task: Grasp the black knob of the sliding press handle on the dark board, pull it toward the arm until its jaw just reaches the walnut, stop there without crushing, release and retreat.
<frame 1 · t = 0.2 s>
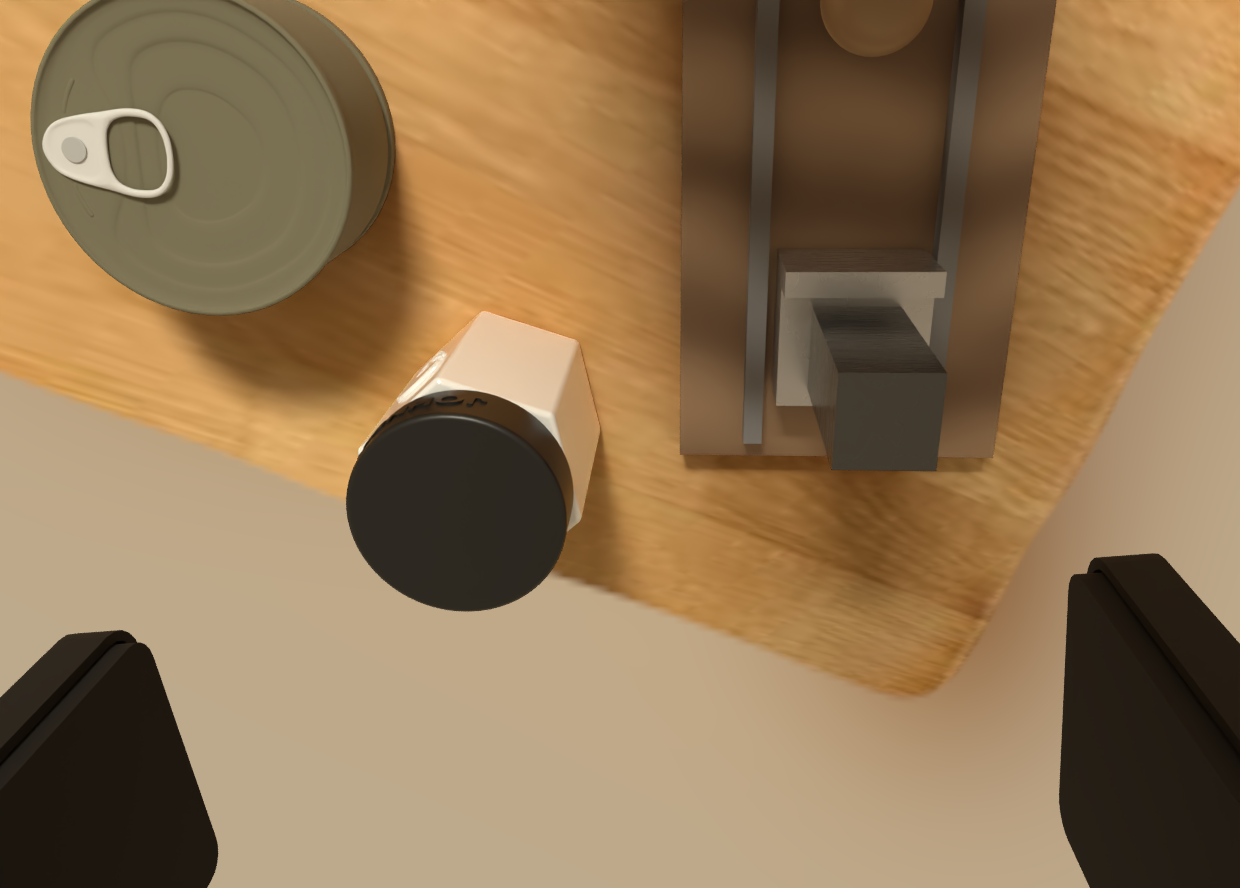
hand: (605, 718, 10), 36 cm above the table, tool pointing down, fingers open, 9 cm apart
board: (849, 180, 43), on the table
jar: (510, 398, 48), on the table
can: (264, 135, 44), on the table
handle: (864, 358, 39), point 7 cm above the table, slide at 0.0 cm
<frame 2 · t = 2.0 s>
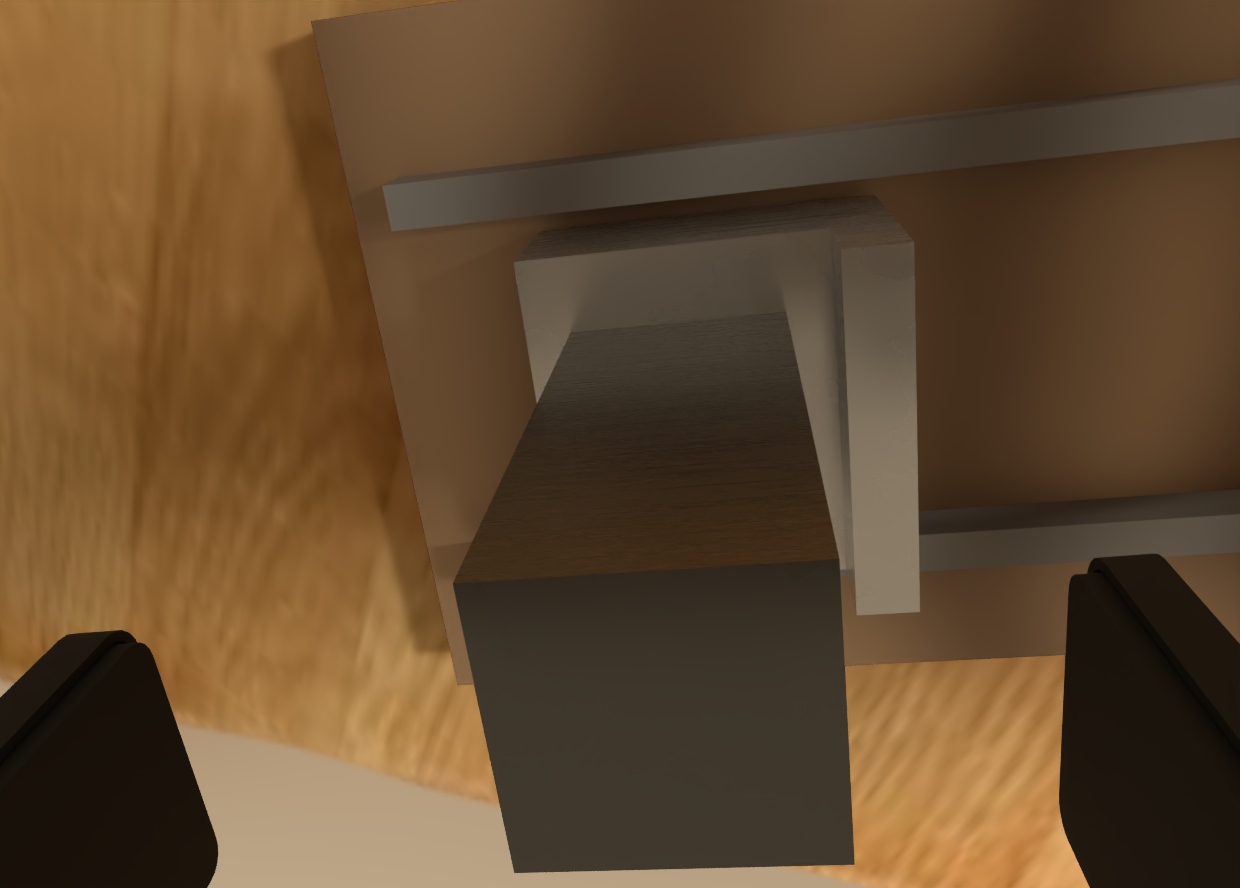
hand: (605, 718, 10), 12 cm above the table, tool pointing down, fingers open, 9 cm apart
board: (995, 318, 20), on the table
handle: (716, 491, 15), point 7 cm above the table, slide at 0.0 cm
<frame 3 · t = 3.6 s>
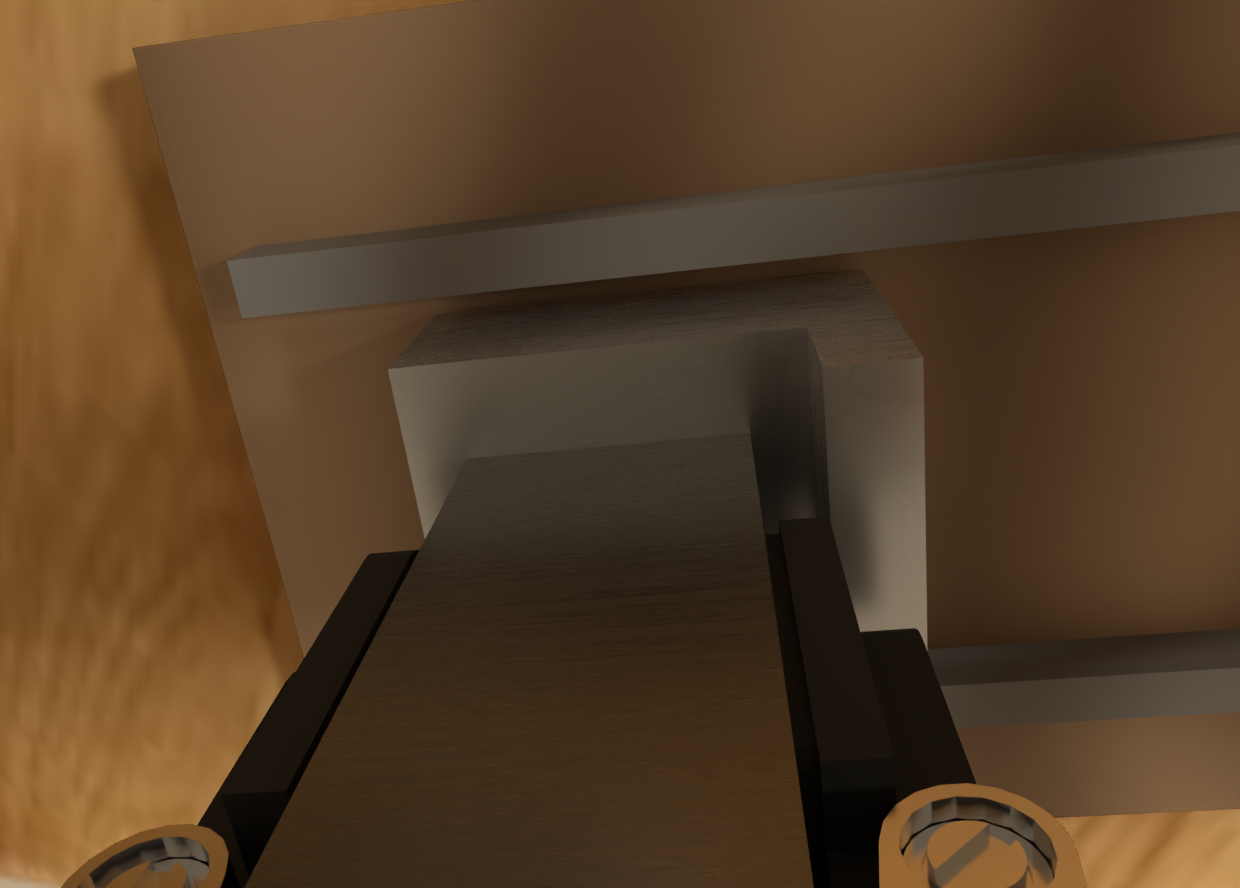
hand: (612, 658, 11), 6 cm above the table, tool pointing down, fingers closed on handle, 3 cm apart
board: (1009, 410, 16), on the table
handle: (655, 699, 11), point 7 cm above the table, slide at 0.0 cm, touching gripper
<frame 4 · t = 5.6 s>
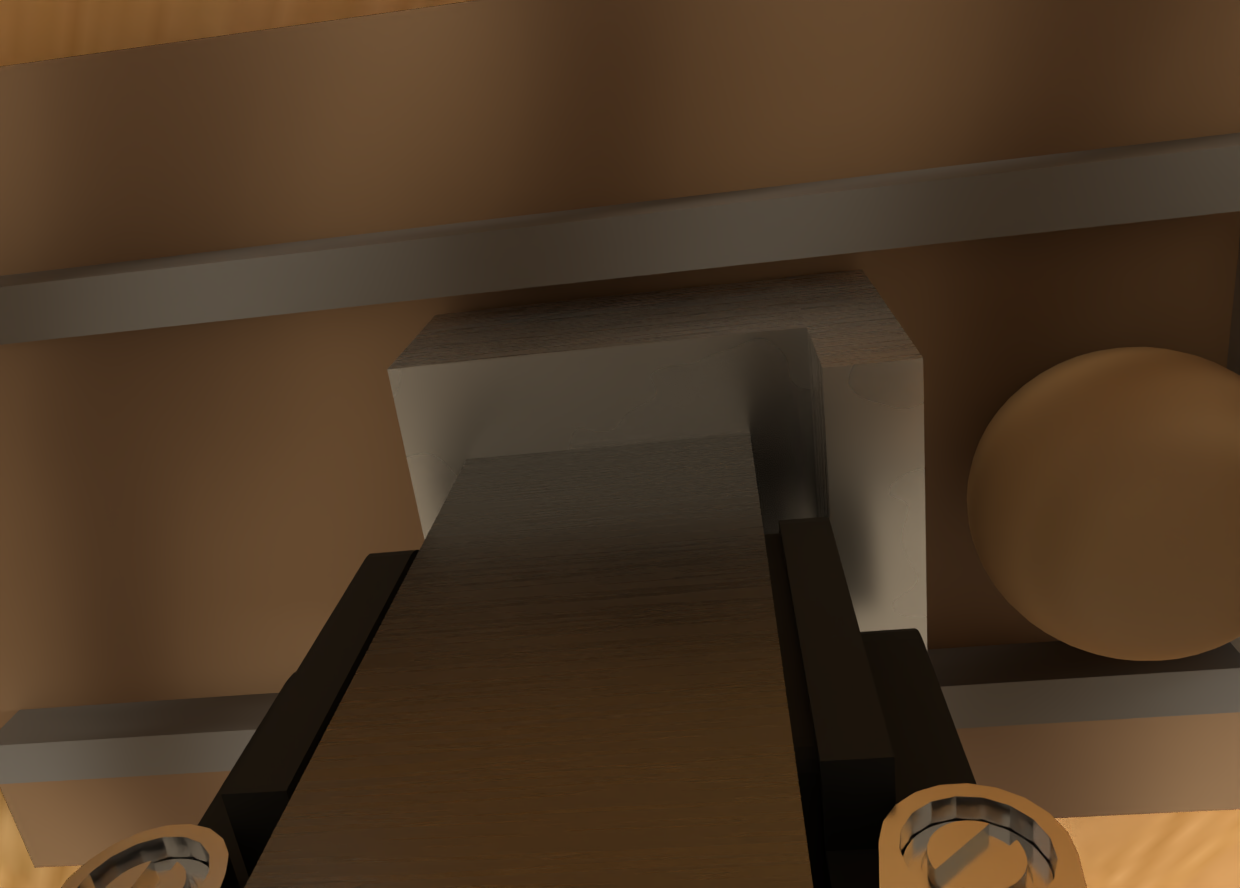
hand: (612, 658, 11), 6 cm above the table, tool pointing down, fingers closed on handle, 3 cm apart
board: (612, 446, 17), on the table
handle: (654, 700, 11), point 7 cm above the table, slide at 6.5 cm, touching gripper
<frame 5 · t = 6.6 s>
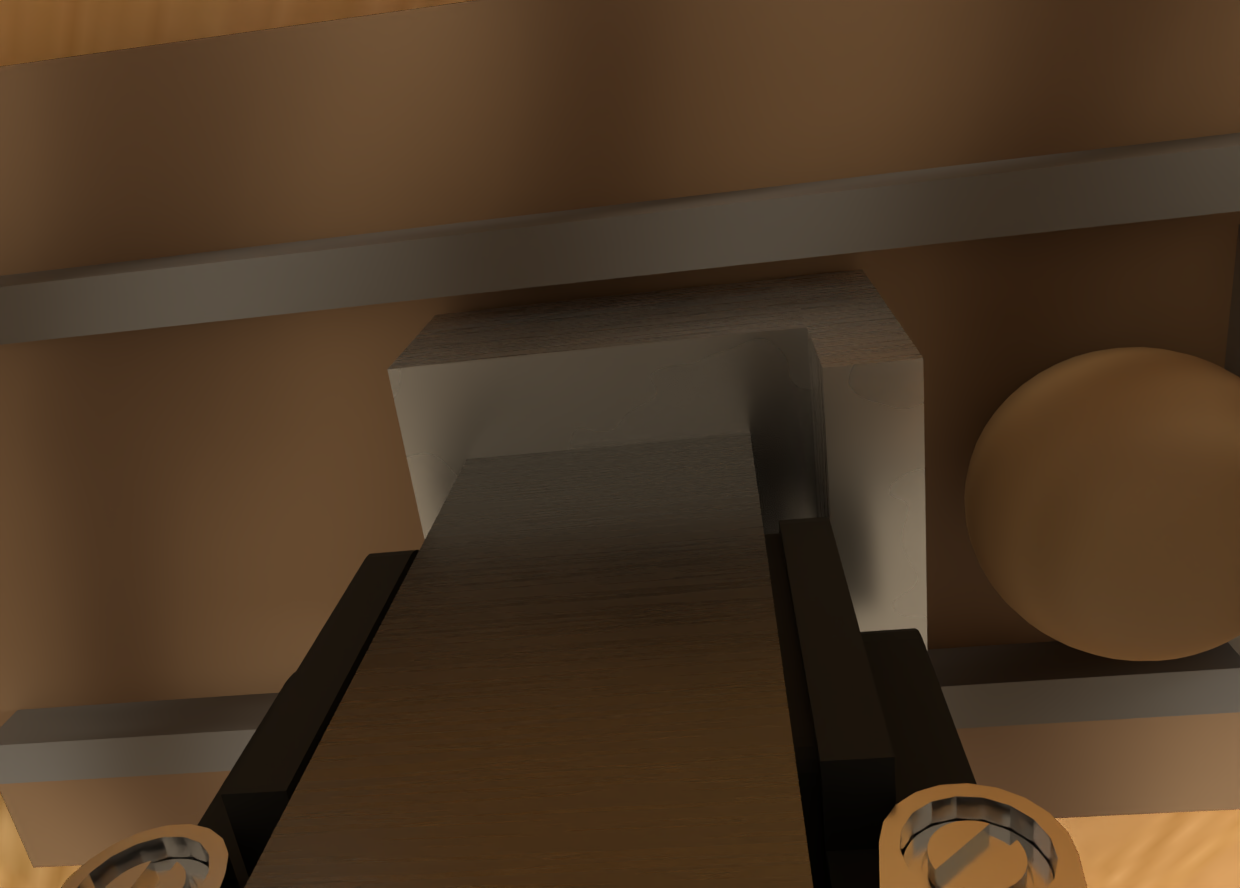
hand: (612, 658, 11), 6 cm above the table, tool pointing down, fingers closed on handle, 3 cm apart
board: (610, 447, 17), on the table
handle: (655, 700, 11), point 7 cm above the table, slide at 6.5 cm, touching gripper
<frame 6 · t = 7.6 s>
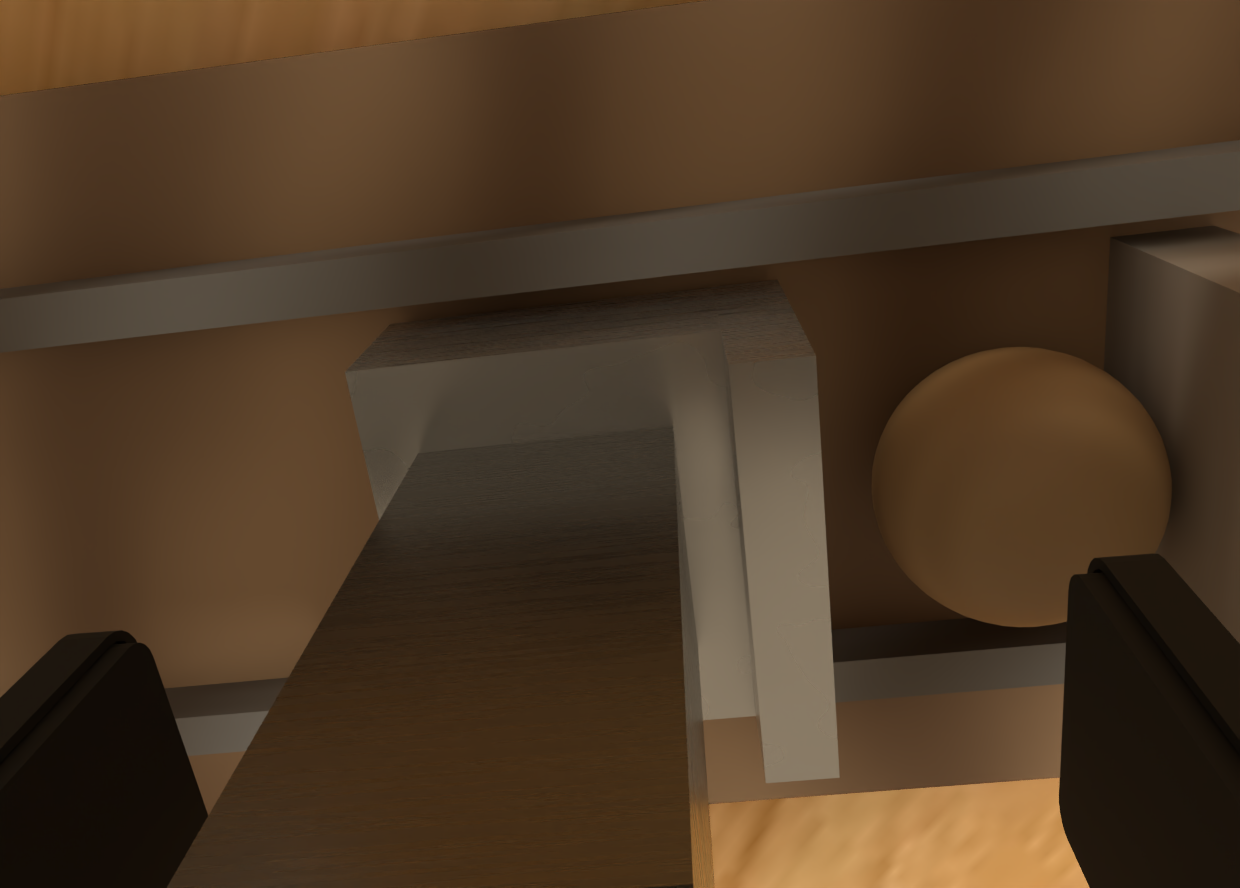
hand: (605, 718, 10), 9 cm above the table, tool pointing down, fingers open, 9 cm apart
board: (556, 446, 19), on the table
handle: (585, 661, 12), point 7 cm above the table, slide at 6.5 cm
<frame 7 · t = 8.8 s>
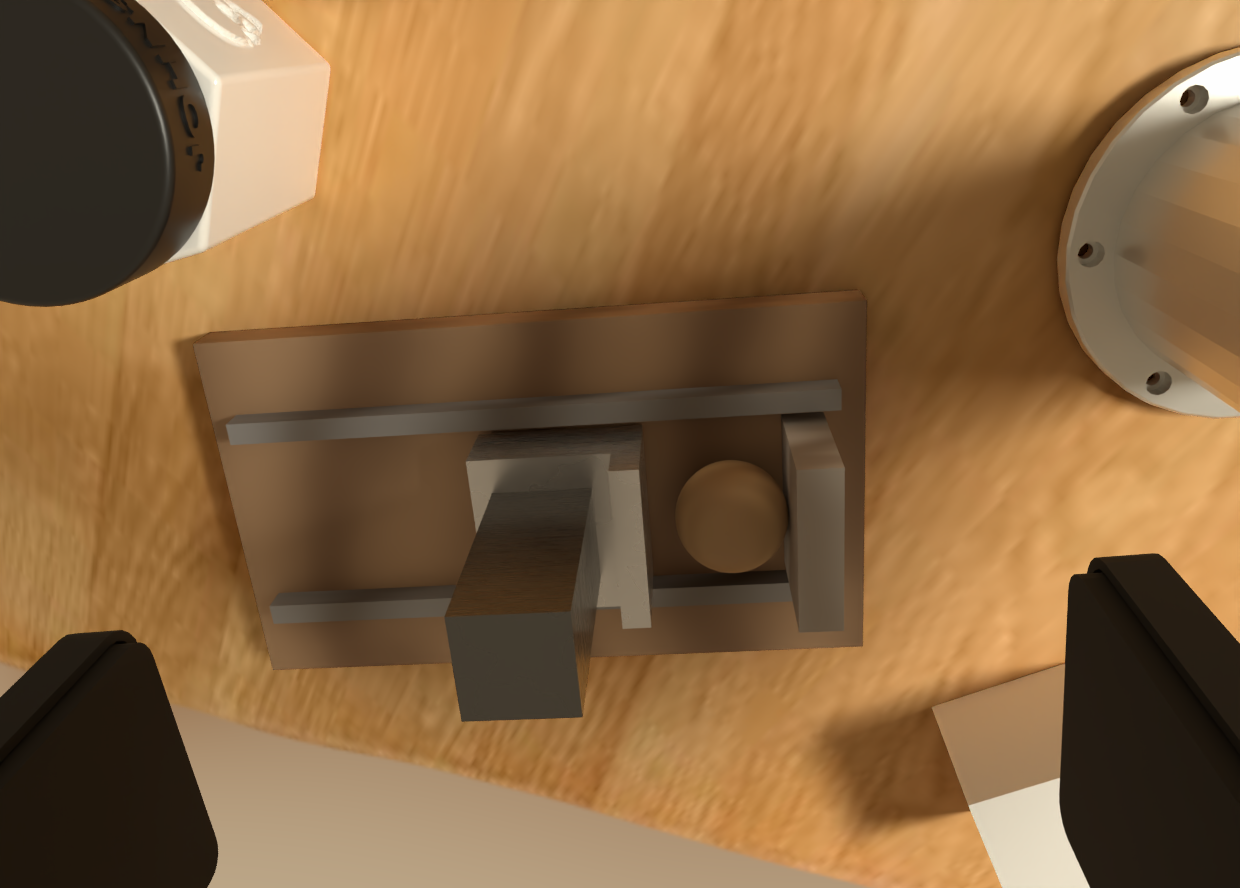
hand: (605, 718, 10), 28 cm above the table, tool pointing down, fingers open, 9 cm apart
white cube: (1019, 734, 44), on the table
board: (547, 485, 40), on the table
jar: (215, 103, 35), on the table
handle: (552, 573, 33), point 7 cm above the table, slide at 6.5 cm
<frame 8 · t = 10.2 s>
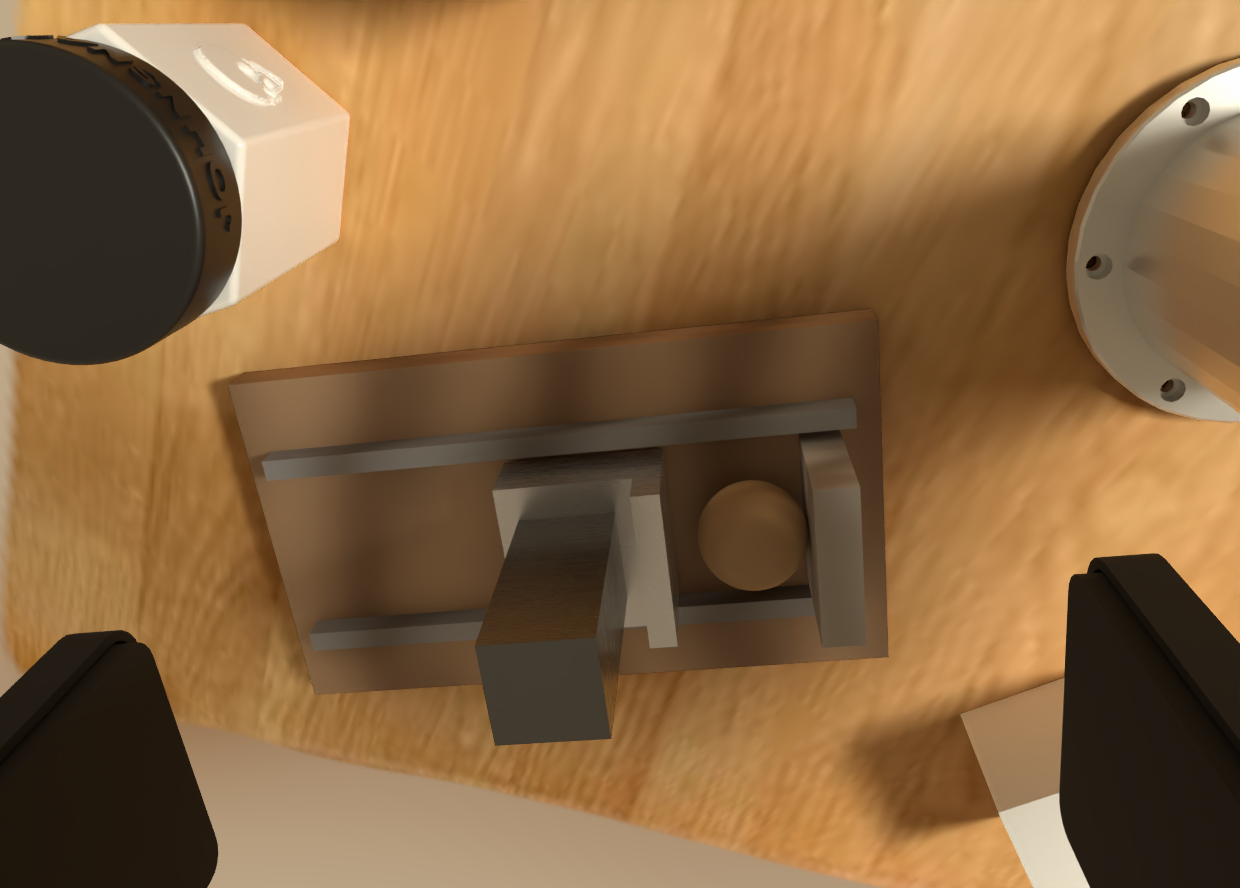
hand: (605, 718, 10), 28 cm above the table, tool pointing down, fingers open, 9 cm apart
white cube: (1049, 738, 44), on the table
board: (573, 508, 41), on the table
jar: (241, 155, 37), on the table
handle: (579, 598, 34), point 7 cm above the table, slide at 6.5 cm
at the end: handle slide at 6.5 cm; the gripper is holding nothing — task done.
